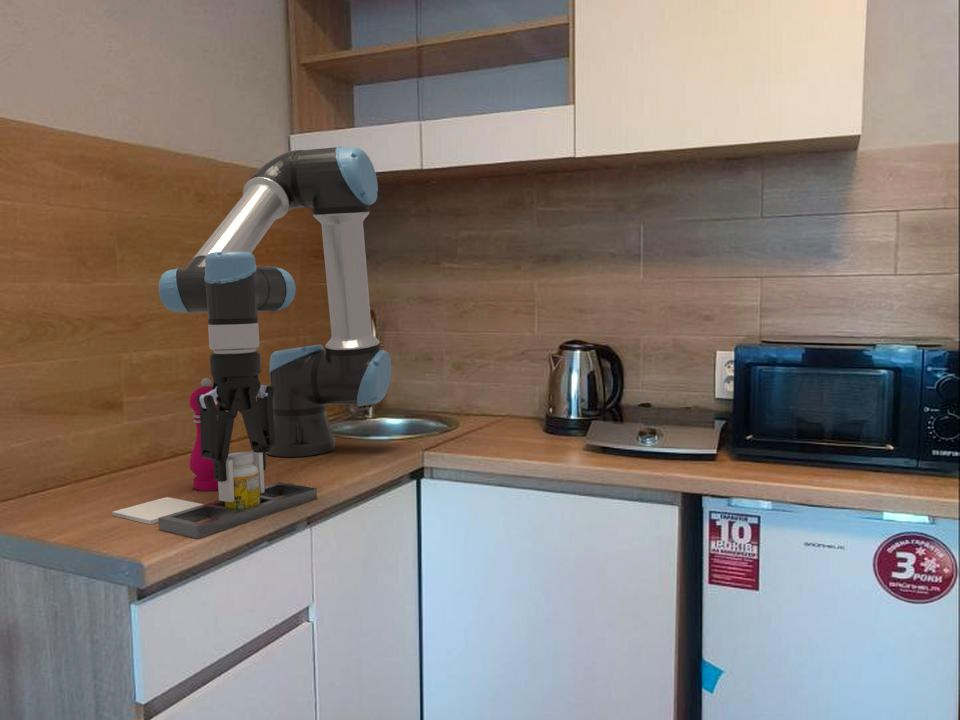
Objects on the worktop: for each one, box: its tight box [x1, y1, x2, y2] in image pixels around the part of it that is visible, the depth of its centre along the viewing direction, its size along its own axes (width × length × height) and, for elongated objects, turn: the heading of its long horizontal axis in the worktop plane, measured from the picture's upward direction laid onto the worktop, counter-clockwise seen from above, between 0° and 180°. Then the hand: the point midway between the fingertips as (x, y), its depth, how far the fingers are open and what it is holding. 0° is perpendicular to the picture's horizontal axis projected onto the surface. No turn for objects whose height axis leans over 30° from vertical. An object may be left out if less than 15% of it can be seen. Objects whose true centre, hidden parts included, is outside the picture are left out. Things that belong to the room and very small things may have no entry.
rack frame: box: [157, 481, 318, 540], centre depth 122 cm, size 24×9×2 cm, turn 148°
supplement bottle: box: [225, 451, 260, 510], centre depth 122 cm, size 5×5×10 cm
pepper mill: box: [188, 377, 231, 492], centre depth 139 cm, size 7×7×20 cm
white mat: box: [111, 496, 204, 525], centre depth 124 cm, size 10×10×1 cm
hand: (242, 495), depth 122 cm, fingers closed on supplement bottle, 5 cm apart
